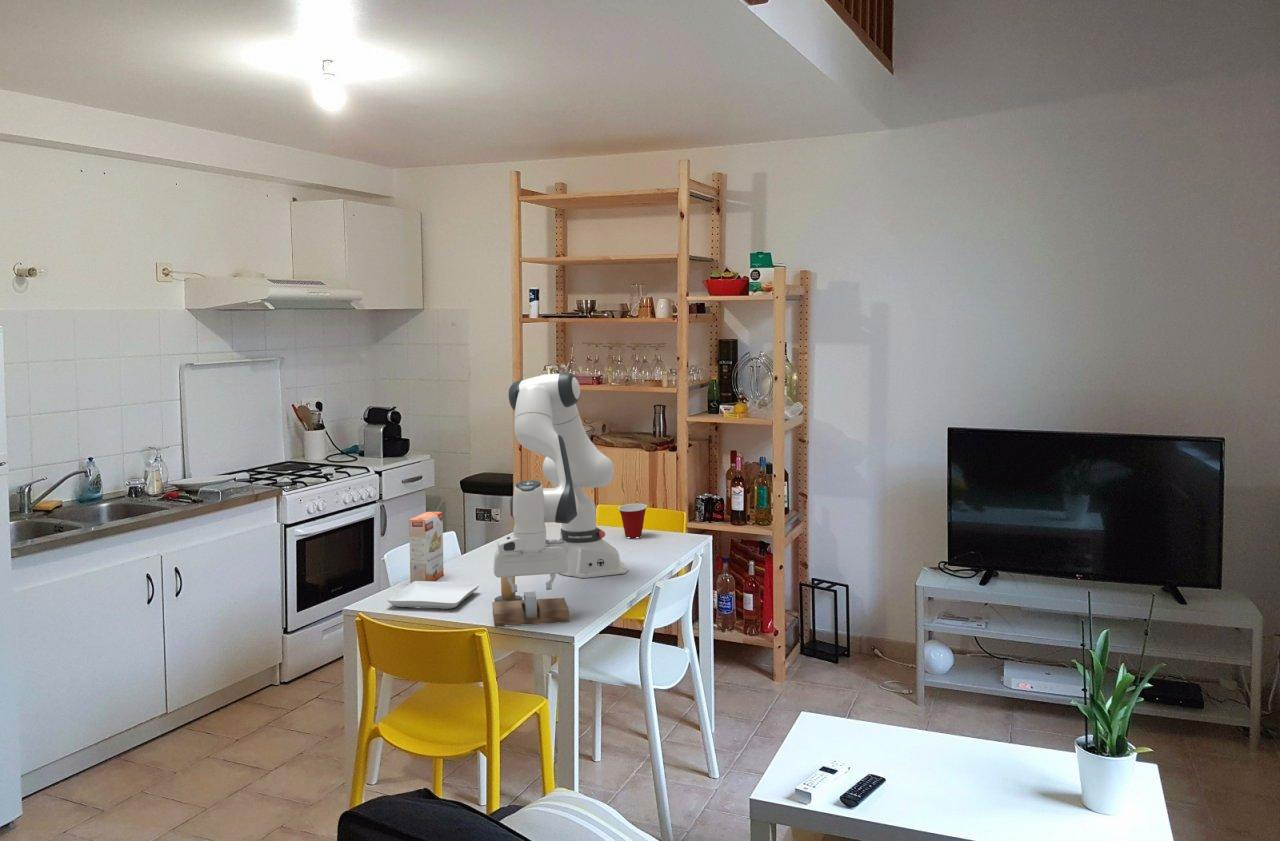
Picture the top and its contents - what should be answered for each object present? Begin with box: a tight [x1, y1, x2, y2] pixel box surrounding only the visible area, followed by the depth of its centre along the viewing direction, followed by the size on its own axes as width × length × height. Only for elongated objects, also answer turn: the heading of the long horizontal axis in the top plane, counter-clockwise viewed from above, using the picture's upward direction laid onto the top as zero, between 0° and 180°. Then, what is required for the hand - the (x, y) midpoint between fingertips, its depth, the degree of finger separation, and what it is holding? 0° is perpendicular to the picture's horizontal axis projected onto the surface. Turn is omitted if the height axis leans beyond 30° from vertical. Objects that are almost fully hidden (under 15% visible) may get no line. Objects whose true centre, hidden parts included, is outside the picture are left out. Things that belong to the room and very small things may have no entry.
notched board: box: [491, 597, 570, 628], centre depth 284 cm, size 20×12×4 cm, turn 101°
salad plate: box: [386, 581, 480, 610], centre depth 303 cm, size 21×21×3 cm
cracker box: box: [408, 511, 445, 584], centre depth 326 cm, size 14×6×21 cm, turn 168°
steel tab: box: [523, 591, 538, 619], centre depth 283 cm, size 3×5×6 cm, turn 11°
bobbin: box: [494, 576, 523, 602], centre depth 298 cm, size 8×8×12 cm
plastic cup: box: [617, 503, 648, 538], centre depth 386 cm, size 11×11×12 cm
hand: (531, 590), depth 283 cm, fingers open, 8 cm apart
